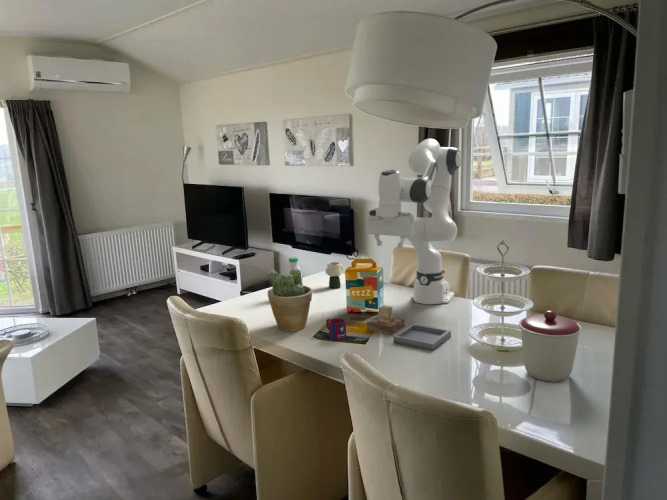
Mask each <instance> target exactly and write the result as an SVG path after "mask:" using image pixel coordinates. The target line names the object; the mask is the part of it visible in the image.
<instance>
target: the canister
mask: <svg viewBox="0 0 667 500" xmlns="http://www.w3.org/2000/svg"><path fill="white" fill-rule="evenodd" d="M518 327H519V328H520V330H521V331H520V333H521V344H522V345H521V346H522V355H523V357H522V358H523V364H524V365H523V366H524V368H525V371H526V372H527V374H528V375H529V376H531V377H532V378H534V379H537V380H540V381H544V382H551V383H552V382H562V381H565V380H567V379H568V378H569V377H570V376H571V374H572V371H573V368H574V363H575V359H576V354H577V349H578V343H579V339H580V338H579V337H580V334H581V332H582V331H583V328H582V326H581V324H579V323H578V322H576V321H575V320H573V319H571V318H569V317H567V316H562V315H557V313H556V312H555V311H554V310H552V309H551V310H546V311H544V313H540V314H532V315H529V316H525V317H524V318H522V319H520V320H519V321H518Z"/></svg>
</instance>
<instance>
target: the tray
mask: <svg viewBox="0 0 667 500" xmlns="http://www.w3.org/2000/svg"><path fill="white" fill-rule="evenodd" d="M451 331H452V330H450V329H443V328H439V327H432V326H428V325H424V324H423V325H422V324H417V323H411V324H410V325H408V326H407V327H404V328H403V329H401V331H398V332H397V333H395V335H392V337H393V344H394V343H395V344H398V345H402V346H407V347H413V348H417V349H422V350H426V351H427V350H428V351H432V352H433V351H435V350H436V349H437V348H438V347H440V346H441V345H442V344H444V343H446V341H447V340H448V339H450V338H451V336H452V335H451V334H452V332H451Z"/></svg>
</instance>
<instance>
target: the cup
mask: <svg viewBox="0 0 667 500" xmlns="http://www.w3.org/2000/svg"><path fill="white" fill-rule="evenodd" d="M325 325H326V328H327V330H328V339H330V340H332V341H342V340H345V339H346V338H347V320H346V319H345V318H343V317H342V318H341V317H333V318H327V319H326V323H325Z"/></svg>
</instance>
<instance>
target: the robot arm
mask: <svg viewBox="0 0 667 500" xmlns="http://www.w3.org/2000/svg"><path fill="white" fill-rule="evenodd" d="M407 163H408V166H409V168H410V169H411V171H412V172H413V173H414V174H416V175H419V176H420V177H402V176H401V175H400V171H399V170H397V169H387V170H383V171H381V172H380V174H379V179H378V196H379V198H378V199H379V200H378V207H376V208H374V209H373V208H372V209H370V210H367V213H366V214H367V216H368V217H367V218H366V221H365V231H366V233H367V234H368V235H374V239H375V241H376V246H380V247H381V246H383V240H381V239H380V236H390V237H391V236H393V237H394V236H395V237H399V238H400V241H399V242H398V243H397V248H401V249H402V248H403V247H404V243H405V241H406V239H407V241H409V242H410V244H411V245H412V247H413V249H414V251H415V254H416V262H417V263H416V265H417V268H416V269H417V270H416V272H415V273H416V274H415V275H416V276H415V277H416V280H415V281H414V282H413V294H411V296H410V298H411V299H413V300H414V302H415V303H419V304H421V305H438V304H449V303H450V301H451V300H452V299H453V297H454V296H455V293H454V292H453V291H450V283H449V282H448V281H447V280H445V278H444V275H445V274H446V270H445V269H442V265H443V264H442V263H443V262H442V260H443V259H442V255H441V253H440V252H439V251H438V250H437V249H436V248H434V247H433V245H432V244H431V243H440V244H444V243H451V242H453V241H454V240H455V238H456V237H457V235H458V226H457V224H456V222H455V221H454V220H453V219H452V218H451V217H450V215H449V212H448V207H449V204H448V203H449V200H450V199H449V198H450V194H451V189H452V188H451V187H452V175H454V174H455V173H456V172H457V171H458V169H460V166H461V164H462V153H461V151H460V149H459V148H456V147H452V146H450V147H448V146H447V147H445V146H440V143H439V142H438V141H437V140H436V139H434V138H426V139H424V140H423V141H421V142H420V143H419V144H417V146H415V147H414V148H413V150H412V151H411V153H410V154H409V157H408V162H407ZM402 203H417V204H423V207H424V209H425V210H426V211H428V212H429V213H431V216H430V217H419V216H417V217H414V214H412V213H410V212H404V211H403V212H402Z"/></svg>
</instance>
